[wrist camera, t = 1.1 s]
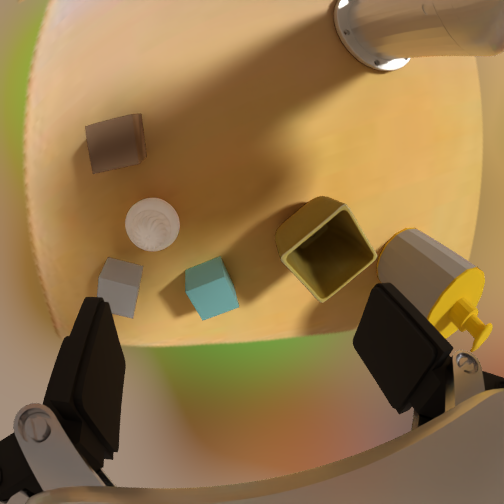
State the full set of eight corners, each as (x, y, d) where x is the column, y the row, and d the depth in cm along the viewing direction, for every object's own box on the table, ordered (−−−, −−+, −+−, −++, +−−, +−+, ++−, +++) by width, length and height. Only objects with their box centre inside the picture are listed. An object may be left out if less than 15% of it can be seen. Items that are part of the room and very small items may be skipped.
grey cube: (108, 256, 34) (98, 277, 29) (143, 265, 35) (138, 287, 31) (104, 286, 35) (96, 309, 31) (137, 295, 37) (133, 318, 33)
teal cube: (185, 269, 37) (185, 291, 32) (220, 255, 37) (224, 276, 32) (200, 297, 39) (202, 320, 35) (233, 284, 39) (239, 307, 35)
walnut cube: (100, 123, 26) (85, 126, 22) (141, 113, 27) (132, 114, 22) (106, 164, 28) (92, 174, 24) (146, 156, 29) (139, 163, 25)
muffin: (173, 242, 34) (170, 271, 28) (127, 231, 33) (114, 258, 26) (186, 196, 32) (185, 217, 26) (137, 183, 30) (123, 202, 24)
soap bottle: (370, 298, 46) (437, 387, 28) (373, 233, 40) (470, 321, 22) (423, 277, 48) (493, 347, 29) (432, 216, 41) (523, 281, 23)
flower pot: (259, 224, 36) (278, 259, 28) (312, 179, 34) (346, 202, 26) (297, 265, 40) (321, 304, 32) (344, 226, 38) (379, 257, 31)
